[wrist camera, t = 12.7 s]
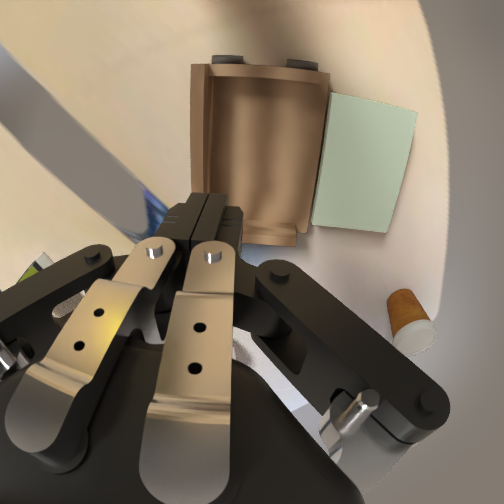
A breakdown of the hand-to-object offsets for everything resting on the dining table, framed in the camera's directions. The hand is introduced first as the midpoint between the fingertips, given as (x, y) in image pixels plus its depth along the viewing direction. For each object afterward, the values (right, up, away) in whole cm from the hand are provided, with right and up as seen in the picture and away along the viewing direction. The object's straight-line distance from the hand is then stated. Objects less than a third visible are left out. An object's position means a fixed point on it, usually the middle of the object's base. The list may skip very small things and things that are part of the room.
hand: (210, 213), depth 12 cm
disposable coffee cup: (+33, -12, +45) cm, 57 cm away
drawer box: (+3, +13, +28) cm, 32 cm away
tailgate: (+11, +11, +26) cm, 30 cm away
